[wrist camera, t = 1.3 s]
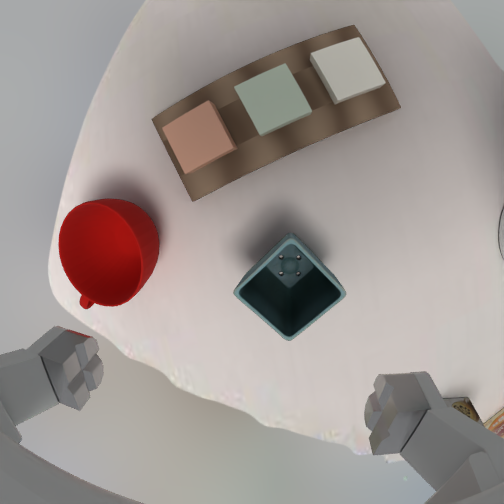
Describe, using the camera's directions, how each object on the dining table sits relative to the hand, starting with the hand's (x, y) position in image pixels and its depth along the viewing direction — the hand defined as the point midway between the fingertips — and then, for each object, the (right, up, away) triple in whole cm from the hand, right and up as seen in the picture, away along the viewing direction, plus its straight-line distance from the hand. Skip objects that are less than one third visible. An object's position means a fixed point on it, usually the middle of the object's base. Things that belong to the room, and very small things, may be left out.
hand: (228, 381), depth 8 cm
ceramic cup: (-17, +4, +34) cm, 38 cm away
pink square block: (-5, +17, +27) cm, 32 cm away
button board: (+4, +21, +26) cm, 33 cm away
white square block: (+11, +24, +22) cm, 35 cm away
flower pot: (+6, +2, +32) cm, 32 cm away
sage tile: (+3, +21, +25) cm, 32 cm away
